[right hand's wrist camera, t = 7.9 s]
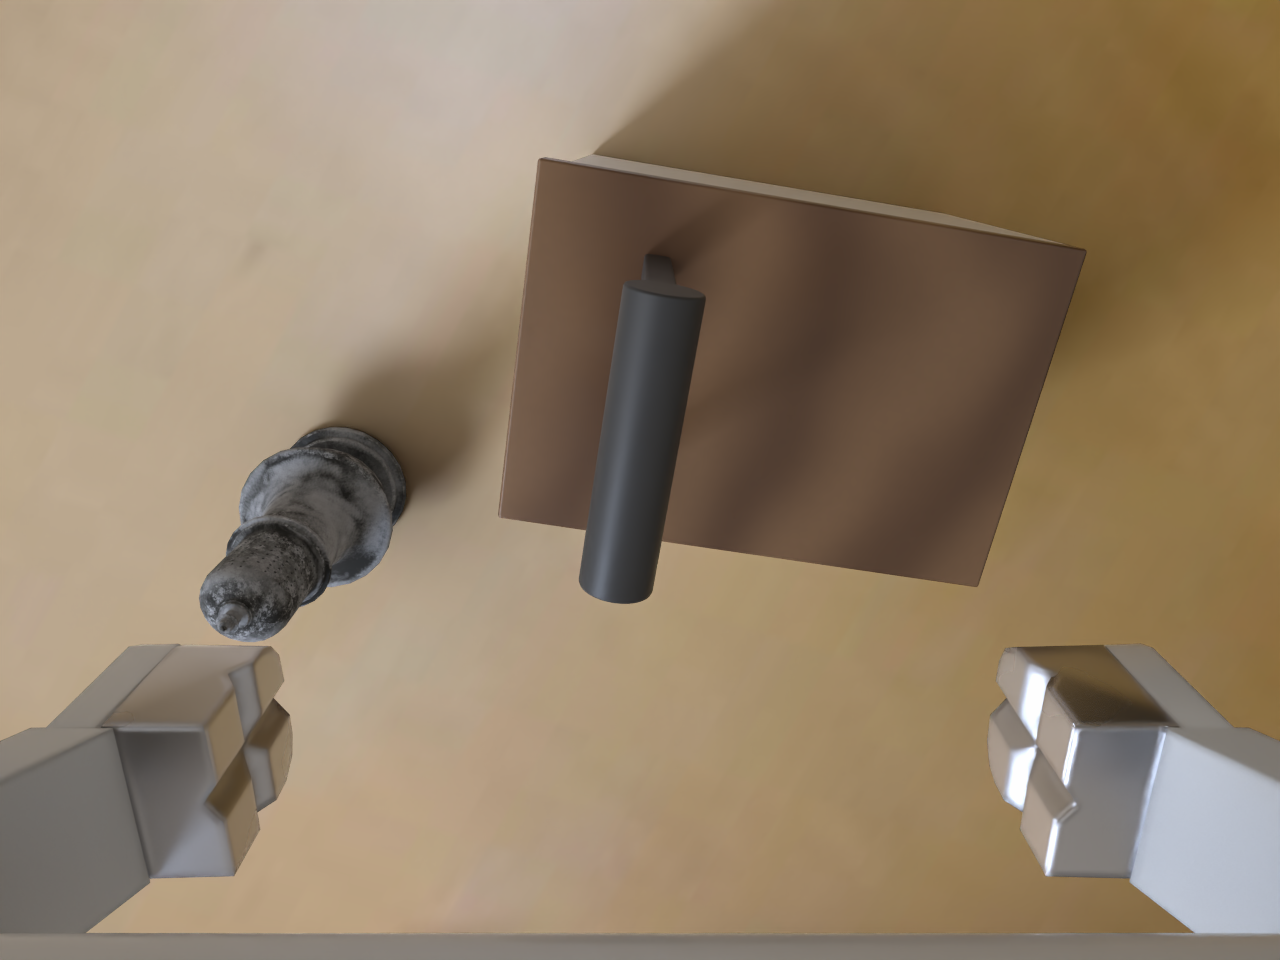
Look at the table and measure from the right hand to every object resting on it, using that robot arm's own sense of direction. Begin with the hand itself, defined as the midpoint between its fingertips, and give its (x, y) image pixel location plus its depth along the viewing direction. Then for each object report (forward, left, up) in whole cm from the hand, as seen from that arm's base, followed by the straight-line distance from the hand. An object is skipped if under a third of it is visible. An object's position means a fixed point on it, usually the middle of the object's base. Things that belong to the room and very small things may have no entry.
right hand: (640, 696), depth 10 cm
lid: (+4, -1, -17) cm, 17 cm away
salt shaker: (-14, -5, -27) cm, 31 cm away
